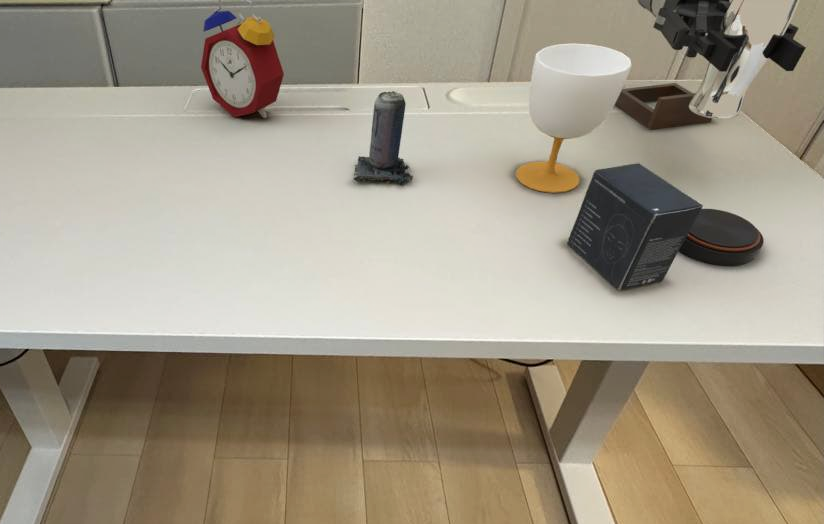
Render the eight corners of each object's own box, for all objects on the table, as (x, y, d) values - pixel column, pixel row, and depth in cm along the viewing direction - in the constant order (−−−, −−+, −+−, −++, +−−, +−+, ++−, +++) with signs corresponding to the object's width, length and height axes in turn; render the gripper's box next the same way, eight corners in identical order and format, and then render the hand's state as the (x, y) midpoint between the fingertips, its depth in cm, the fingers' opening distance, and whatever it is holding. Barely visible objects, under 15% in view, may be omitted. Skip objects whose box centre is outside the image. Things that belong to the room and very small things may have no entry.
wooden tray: (669, 96, 106) (681, 68, 103) (710, 122, 99) (725, 92, 95) (612, 103, 105) (622, 74, 102) (649, 129, 98) (662, 99, 94)
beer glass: (750, 121, 78) (818, -7, 67) (693, 120, 79) (751, -6, 68) (731, 100, 82) (791, -23, 72) (677, 98, 83) (729, -22, 73)
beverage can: (403, 160, 94) (411, 84, 85) (414, 185, 88) (424, 105, 80) (346, 164, 94) (349, 88, 85) (354, 189, 88) (358, 110, 80)
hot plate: (719, 216, 79) (728, 200, 77) (775, 259, 72) (786, 243, 70) (650, 226, 78) (658, 210, 77) (700, 271, 71) (710, 255, 69)
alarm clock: (205, 108, 112) (189, -11, 98) (236, 93, 116) (225, -23, 102) (263, 127, 105) (254, 2, 90) (294, 110, 109) (290, -12, 95)
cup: (513, 197, 85) (544, 76, 73) (501, 158, 93) (527, 43, 81) (598, 199, 83) (645, 75, 71) (578, 159, 92) (617, 42, 80)
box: (665, 281, 70) (706, 205, 63) (617, 292, 69) (653, 216, 62) (608, 233, 77) (639, 160, 70) (564, 243, 76) (590, 169, 69)
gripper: (748, 30, 89) (832, 90, 73) (610, 32, 91) (662, 91, 75) (775, -27, 84) (872, 24, 67) (628, -24, 86) (688, 27, 70)
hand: (762, 59), depth 71 cm, fingers closed on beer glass, 7 cm apart
